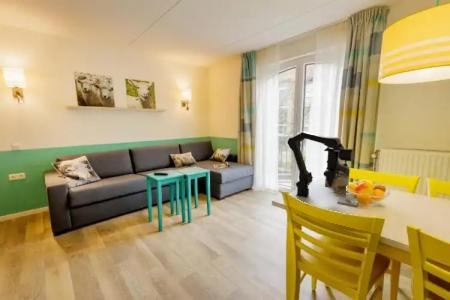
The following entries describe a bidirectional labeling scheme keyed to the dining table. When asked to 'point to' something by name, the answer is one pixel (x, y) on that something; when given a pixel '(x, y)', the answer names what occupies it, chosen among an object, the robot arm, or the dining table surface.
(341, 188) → the coffee box
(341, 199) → the grey square slab
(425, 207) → the dining table surface
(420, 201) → the dining table surface
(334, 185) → the open wooden cubby
